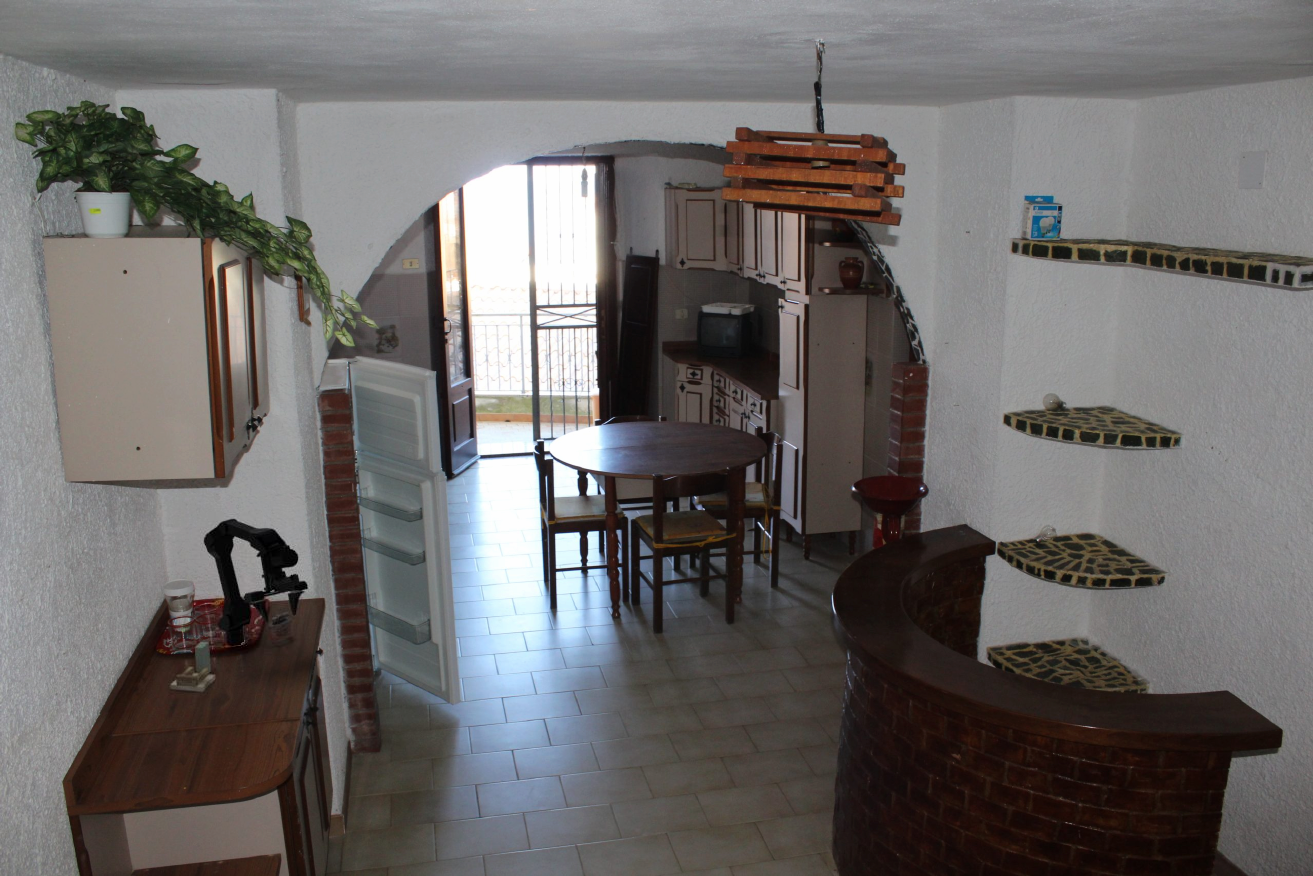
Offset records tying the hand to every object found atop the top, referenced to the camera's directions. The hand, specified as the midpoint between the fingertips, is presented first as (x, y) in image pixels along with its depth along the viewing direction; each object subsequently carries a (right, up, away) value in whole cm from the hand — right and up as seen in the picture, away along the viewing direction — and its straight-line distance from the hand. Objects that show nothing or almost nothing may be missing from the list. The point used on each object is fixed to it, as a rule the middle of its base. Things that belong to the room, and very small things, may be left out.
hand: (280, 618), depth 316 cm
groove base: (-25, -19, -6) cm, 32 cm away
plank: (-24, -17, 0) cm, 30 cm away
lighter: (-8, -12, +23) cm, 27 cm away
